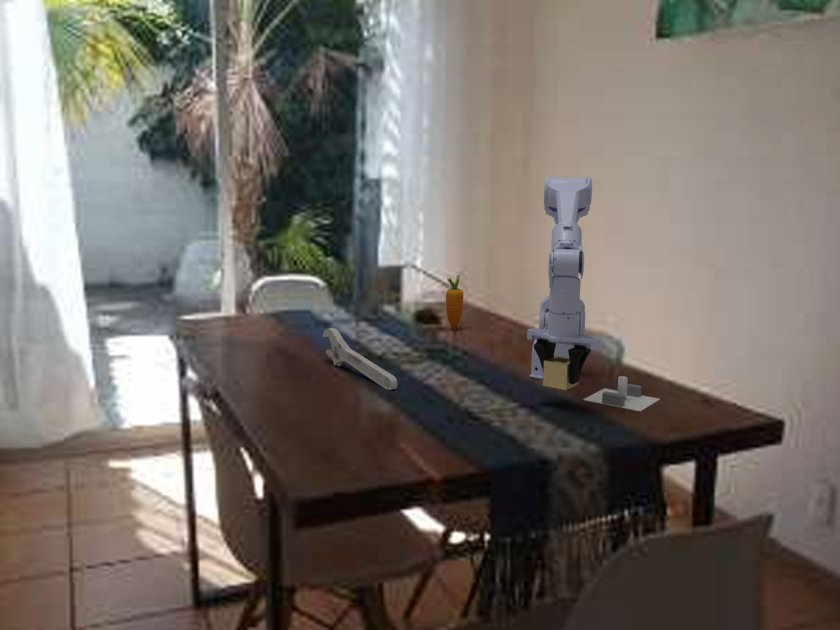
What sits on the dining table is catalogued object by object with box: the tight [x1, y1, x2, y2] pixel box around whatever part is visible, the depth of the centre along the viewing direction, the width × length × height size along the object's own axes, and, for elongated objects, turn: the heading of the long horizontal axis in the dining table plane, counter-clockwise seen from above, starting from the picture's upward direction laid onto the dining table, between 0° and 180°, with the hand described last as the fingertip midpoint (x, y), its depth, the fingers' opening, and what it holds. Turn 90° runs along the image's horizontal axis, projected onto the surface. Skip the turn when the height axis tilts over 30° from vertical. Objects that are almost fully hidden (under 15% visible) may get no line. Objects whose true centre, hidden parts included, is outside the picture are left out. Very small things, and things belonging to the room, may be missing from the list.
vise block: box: [583, 375, 661, 412], centre depth 178 cm, size 12×10×6 cm
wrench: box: [322, 327, 398, 391], centre depth 198 cm, size 8×2×30 cm
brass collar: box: [542, 356, 579, 391], centre depth 173 cm, size 5×5×5 cm
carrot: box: [445, 274, 464, 331], centre depth 242 cm, size 5×5×15 cm
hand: (560, 380), depth 173 cm, fingers closed on brass collar, 5 cm apart
